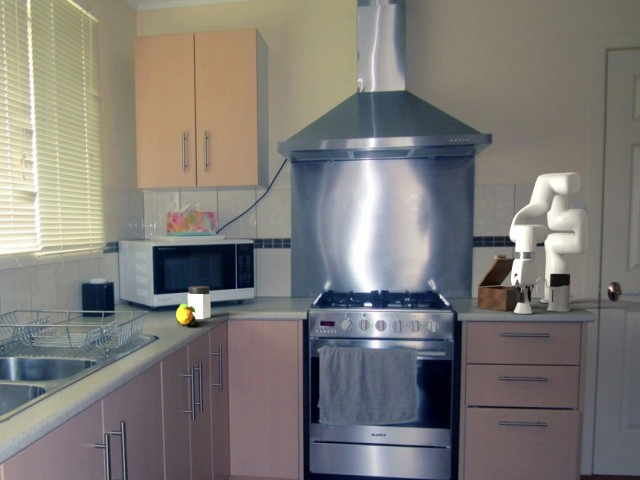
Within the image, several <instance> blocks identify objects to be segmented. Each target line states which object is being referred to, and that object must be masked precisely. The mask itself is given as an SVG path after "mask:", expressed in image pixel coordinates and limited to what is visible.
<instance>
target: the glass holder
mask: <svg viewBox="0 0 640 480" xmlns="http://www.w3.org/2000/svg"><path fill="white" fill-rule="evenodd" d="M540 279H543V280H544V283H545V282H546V287H547V281H546V279H545V277H542V276H540V277H537V279H536V283H537V284H536V286H535V289H536V293H537V294H538V296H539V297H540V298H541V299H544V296H542V295H541V293H540V291H539V289H538V282H539V280H540ZM547 288H549V302H548V301H547V300H545V299H544V300H545V301H546V302H547V303H546V304H547V306H548V307H547V308H546V311H550V312H561V313H562V312H565V313H566V312H570V311H571V308H570V304H571V303H570V300H571V298H570V293H571V274H570V273H568V274H550V286H549V287H547Z"/></svg>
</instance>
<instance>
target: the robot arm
mask: <svg viewBox="0 0 640 480" xmlns="http://www.w3.org/2000/svg"><path fill="white" fill-rule="evenodd" d="M581 186H582V178H581V175H580V174H579V172H575V171H573V172H550V173H543V174H540V175H538V176H537V178H536V181H535V184H534V187H533V191H532V193H531V197H530V200H529V203H528V204H527V205H525V206H524V207H523V208H521V209H520V210H519V211H518V212H517V213H516V214H515V215H514V217H513V219H512V222H511V225H510V229H509V235H508V236H509V240H510V241H511V242H512V243H514V244H515V249H514V250H515V252H514V253H515V254H514V258H515V260H514V262H513V267H512V271H511V273H510V275H511V276H510V284H511V287H513V288H514V289H515V290H516V292H517V295H516V302H519V303H524V293H523V290H524V288H528V290H527V295H528V300H529V303H531V302H532V292H533V290H534V288H535V287H536V284H537V285H538V282H537V283H536V280H537V279H538V277H537V275H538V271H537V269H538V268H537V260H536V259H537V258H536V257H537V244H543V243H544V253H545V271H544V272H545V274H544V278H545V279H546V281H547V287H549V286H550V274H570V270H569V269H570V263H569V261H568V260H567V258H566V257H565V256H564V255H584V254H585V253H587V251H588V247H589V228H588V226H589V225H588V224H589V223H588V215H587V212H586V211H585V210H584V209H582V208H569V197H568V196H569V195H573V194H575V193H577V192H578V191H580V188H581ZM545 214H546V218H547V219H546V221H547V227H548V228H549V229H550V230H551V231H561V232H552V233H549V230H548V228H547V227H546V226H545V225H544V224H525V223H527V222H528V221H530V220H533V219H535V218H539V217H541V216H543V215H545ZM562 231H566V232H562ZM568 231H569V232H568ZM570 231H571V232H570ZM547 287H546V282H545V281H544V292H543V293H544V294H543V295H544V296H543V298H544V299H545V300H547V301H548V302H549V288H547ZM573 297H574V294H573V293H571V292H570V303H569V304H571V303H572V300H571V298H573ZM544 299H542V298H541V299H540V303H542V304H543V303H544V304H548V303H547V302H546V301H545V300H544Z"/></svg>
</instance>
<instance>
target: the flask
mask: <svg viewBox="0 0 640 480" xmlns="http://www.w3.org/2000/svg"><path fill="white" fill-rule="evenodd" d="M527 290H528V288H525V287H524V290H523V293H524V303H519V302H518V303H517V306H516V308H515V310H514V311H513V313H514V314H520V315H521V314H522V315H529V314H530V315H531V314H533V309H532V307H531V302H529V300H528V295H527Z"/></svg>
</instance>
